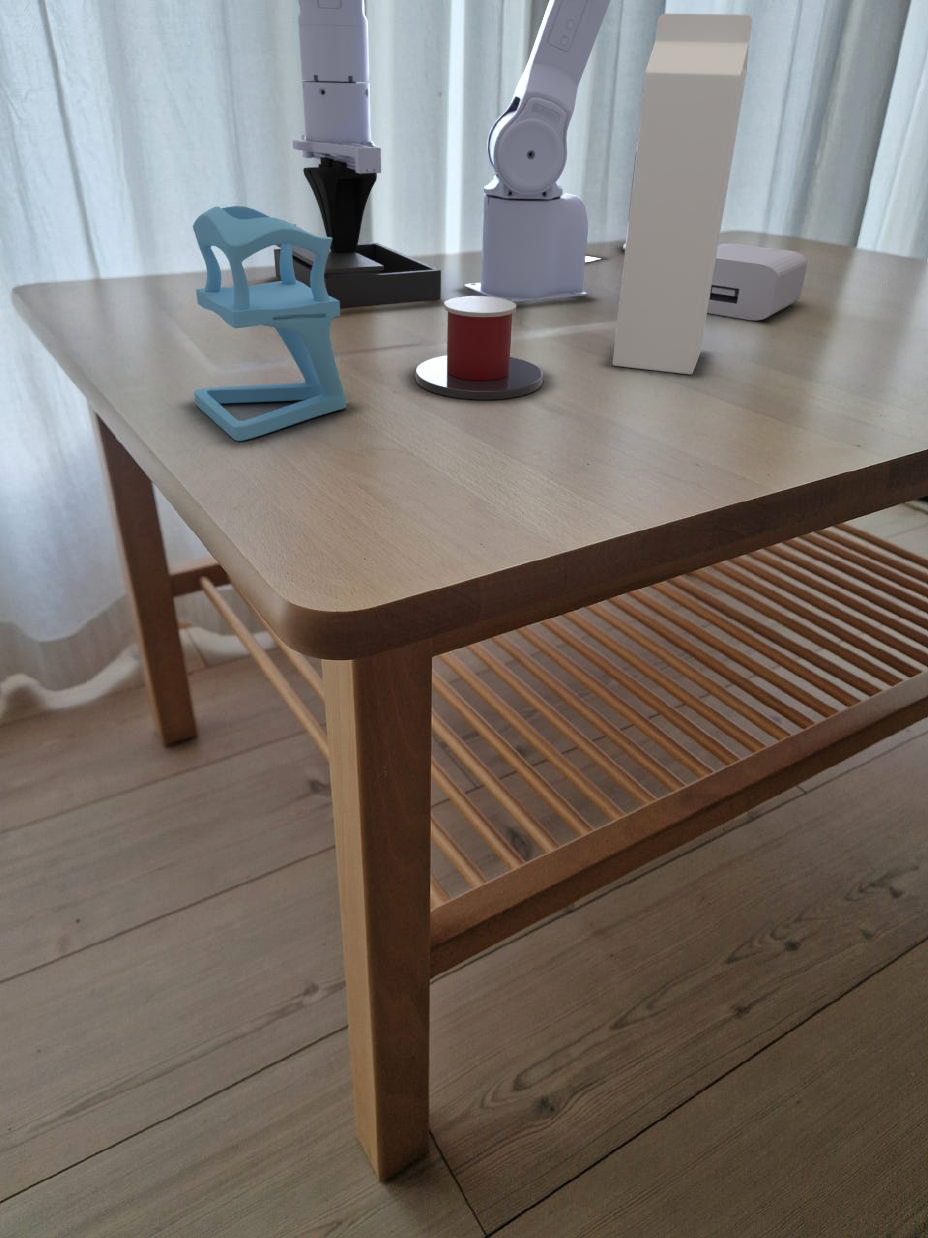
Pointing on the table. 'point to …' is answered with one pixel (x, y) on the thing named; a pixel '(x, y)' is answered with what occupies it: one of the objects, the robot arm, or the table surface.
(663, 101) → the milk
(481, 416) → the table surface
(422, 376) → the coaster
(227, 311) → the chair
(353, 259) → the flap
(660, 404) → the table surface
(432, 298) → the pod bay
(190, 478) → the table surface
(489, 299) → the cylinder
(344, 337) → the table surface
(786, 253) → the charger
